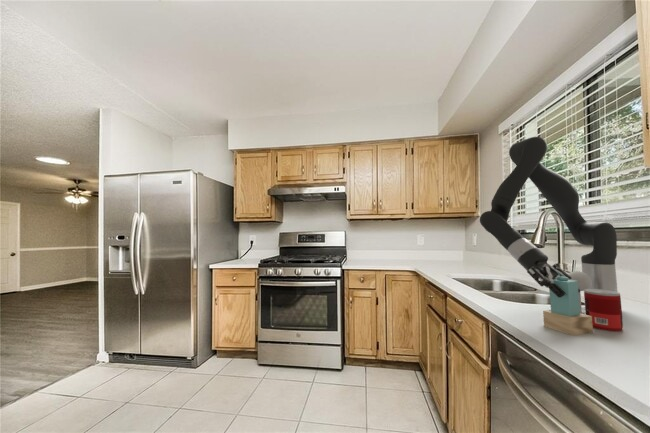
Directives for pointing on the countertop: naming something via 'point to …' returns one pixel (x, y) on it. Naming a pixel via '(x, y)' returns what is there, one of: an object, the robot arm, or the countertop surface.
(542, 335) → the countertop surface
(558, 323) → the wooden block
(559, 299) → the teal brick
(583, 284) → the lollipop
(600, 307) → the canned food
